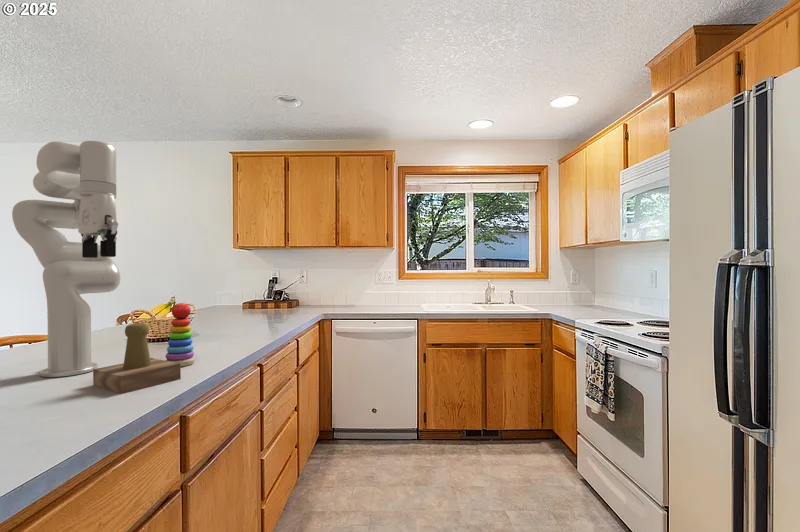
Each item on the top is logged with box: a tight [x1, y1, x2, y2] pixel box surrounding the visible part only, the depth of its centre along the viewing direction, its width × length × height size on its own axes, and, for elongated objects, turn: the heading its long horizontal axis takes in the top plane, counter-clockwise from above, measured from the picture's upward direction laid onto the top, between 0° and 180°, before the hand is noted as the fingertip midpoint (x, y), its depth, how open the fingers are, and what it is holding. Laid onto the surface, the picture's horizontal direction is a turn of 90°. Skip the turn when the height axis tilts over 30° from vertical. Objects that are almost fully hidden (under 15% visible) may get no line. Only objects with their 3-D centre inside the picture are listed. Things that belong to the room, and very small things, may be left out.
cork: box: [123, 322, 151, 369], centre depth 102 cm, size 6×6×11 cm
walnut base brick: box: [92, 357, 182, 395], centre depth 101 cm, size 14×14×4 cm
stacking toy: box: [165, 302, 195, 367], centre depth 120 cm, size 8×8×19 cm
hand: (98, 257), depth 102 cm, fingers open, 9 cm apart
